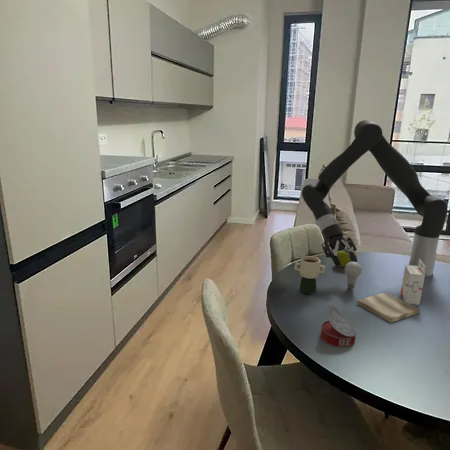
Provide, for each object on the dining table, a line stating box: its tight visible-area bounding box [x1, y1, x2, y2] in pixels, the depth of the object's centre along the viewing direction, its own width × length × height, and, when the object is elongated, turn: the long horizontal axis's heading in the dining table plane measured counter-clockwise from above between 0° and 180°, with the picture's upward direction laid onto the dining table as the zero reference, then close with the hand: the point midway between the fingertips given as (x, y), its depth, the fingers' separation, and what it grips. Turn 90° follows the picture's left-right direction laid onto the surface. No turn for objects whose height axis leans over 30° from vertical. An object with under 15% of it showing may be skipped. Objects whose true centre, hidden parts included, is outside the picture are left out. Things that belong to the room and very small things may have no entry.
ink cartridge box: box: [400, 259, 426, 306], centre depth 137 cm, size 9×5×15 cm, turn 168°
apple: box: [336, 250, 358, 268], centre depth 166 cm, size 8×9×8 cm
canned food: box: [320, 306, 357, 348], centre depth 112 cm, size 11×10×10 cm
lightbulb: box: [344, 261, 363, 290], centre depth 144 cm, size 6×6×11 cm
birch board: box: [357, 292, 420, 323], centre depth 131 cm, size 14×14×2 cm
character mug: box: [294, 255, 326, 295], centre depth 140 cm, size 11×7×13 cm, turn 76°
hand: (347, 264), depth 146 cm, fingers open, 8 cm apart
